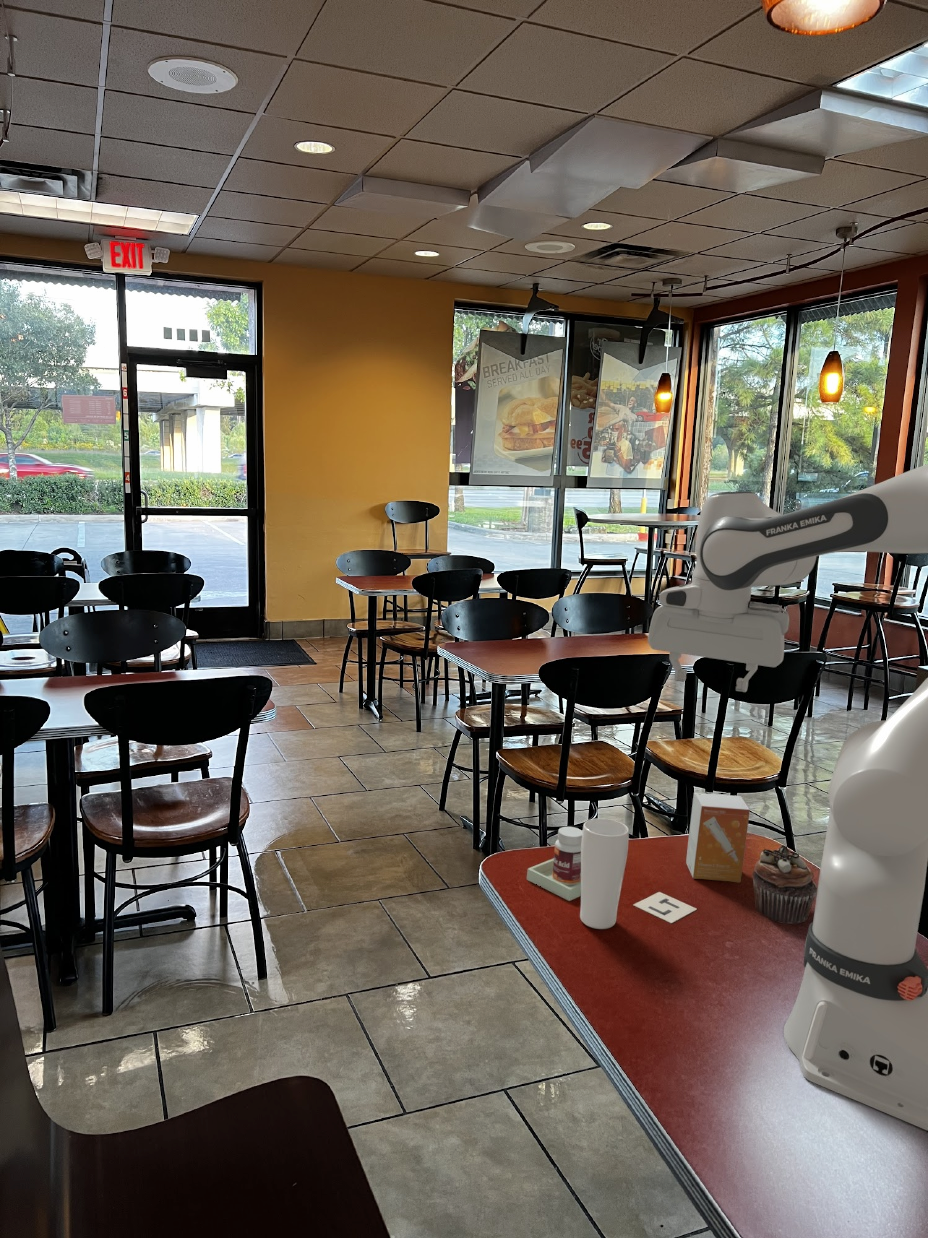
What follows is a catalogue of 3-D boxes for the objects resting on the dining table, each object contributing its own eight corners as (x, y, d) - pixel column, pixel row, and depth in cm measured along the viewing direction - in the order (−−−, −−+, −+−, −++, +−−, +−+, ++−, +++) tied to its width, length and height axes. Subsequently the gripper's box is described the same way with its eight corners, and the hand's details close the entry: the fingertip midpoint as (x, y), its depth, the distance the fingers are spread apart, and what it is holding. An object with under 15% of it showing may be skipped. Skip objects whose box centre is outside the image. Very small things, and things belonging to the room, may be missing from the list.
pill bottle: (545, 878, 149) (549, 829, 147) (565, 871, 152) (569, 823, 150) (567, 890, 145) (571, 840, 144) (587, 882, 148) (591, 833, 147)
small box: (692, 880, 152) (700, 805, 150) (685, 863, 158) (692, 791, 156) (741, 883, 152) (750, 809, 150) (732, 866, 158) (740, 795, 156)
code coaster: (697, 909, 142) (697, 908, 142) (671, 923, 137) (671, 922, 137) (659, 892, 147) (659, 891, 147) (633, 905, 142) (633, 904, 142)
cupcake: (792, 933, 137) (800, 870, 135) (736, 906, 144) (743, 846, 142) (826, 915, 143) (834, 855, 141) (771, 891, 150) (778, 833, 148)
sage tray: (605, 884, 149) (606, 874, 148) (569, 901, 142) (570, 889, 142) (562, 865, 155) (563, 854, 155) (526, 879, 149) (527, 868, 148)
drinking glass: (619, 913, 140) (627, 820, 137) (622, 935, 133) (631, 838, 130) (574, 908, 140) (582, 815, 137) (575, 931, 134) (583, 834, 131)
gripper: (794, 603, 138) (783, 692, 140) (660, 587, 147) (652, 671, 149) (788, 609, 132) (776, 701, 135) (649, 592, 141) (641, 679, 144)
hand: (710, 685), depth 142 cm, fingers open, 8 cm apart
